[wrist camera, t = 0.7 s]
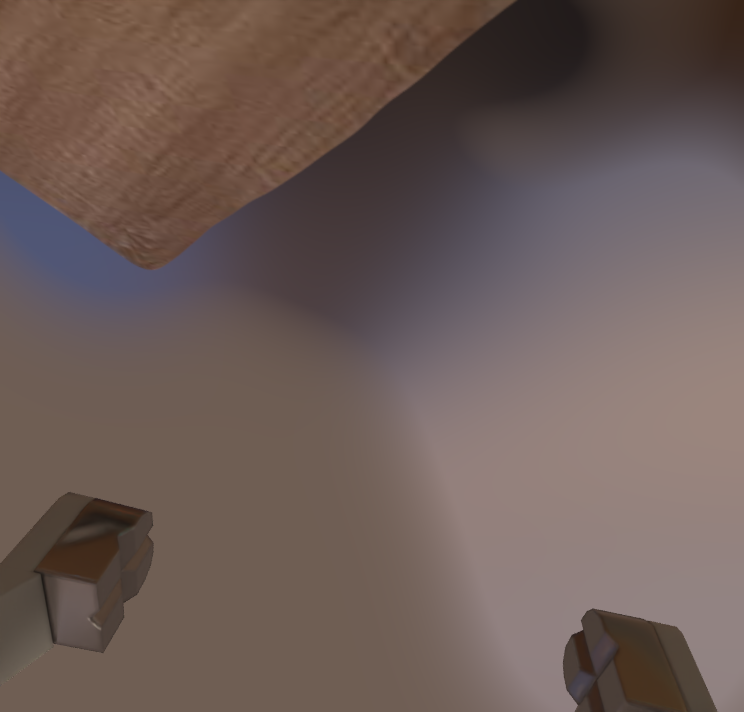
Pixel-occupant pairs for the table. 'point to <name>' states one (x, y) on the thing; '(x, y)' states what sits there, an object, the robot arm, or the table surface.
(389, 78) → the table surface
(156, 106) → the table surface
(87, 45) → the table surface
